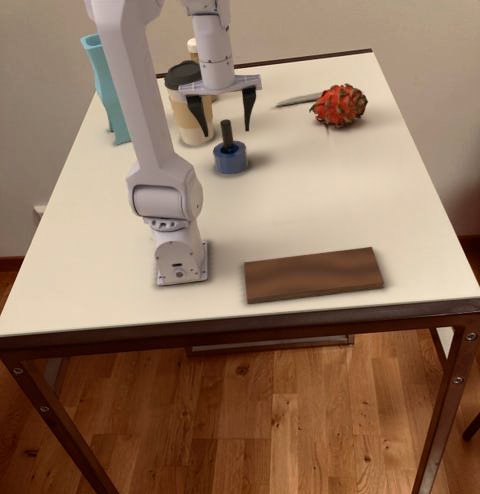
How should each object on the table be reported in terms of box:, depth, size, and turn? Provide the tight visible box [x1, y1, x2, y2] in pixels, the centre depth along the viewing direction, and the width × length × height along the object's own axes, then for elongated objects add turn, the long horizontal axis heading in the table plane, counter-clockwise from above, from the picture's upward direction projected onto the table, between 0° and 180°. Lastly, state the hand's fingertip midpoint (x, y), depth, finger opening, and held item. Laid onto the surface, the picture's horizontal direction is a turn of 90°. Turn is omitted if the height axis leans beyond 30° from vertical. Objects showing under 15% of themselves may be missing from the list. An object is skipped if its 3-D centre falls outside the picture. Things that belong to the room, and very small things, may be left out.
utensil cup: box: [212, 139, 249, 175], centre depth 99 cm, size 6×6×4 cm
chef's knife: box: [275, 87, 356, 107], centre depth 116 cm, size 19×1×3 cm
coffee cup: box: [163, 59, 215, 145], centre depth 105 cm, size 9×9×15 cm
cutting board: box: [243, 246, 385, 305], centre depth 77 cm, size 8×20×1 cm, turn 93°
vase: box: [79, 32, 132, 146], centre depth 109 cm, size 8×8×20 cm
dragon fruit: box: [308, 82, 369, 129], centre depth 105 cm, size 8×8×12 cm
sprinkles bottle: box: [186, 37, 217, 103], centre depth 117 cm, size 5×5×14 cm
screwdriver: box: [219, 118, 235, 154], centre depth 97 cm, size 2×2×9 cm
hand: (226, 131), depth 95 cm, fingers open, 7 cm apart
